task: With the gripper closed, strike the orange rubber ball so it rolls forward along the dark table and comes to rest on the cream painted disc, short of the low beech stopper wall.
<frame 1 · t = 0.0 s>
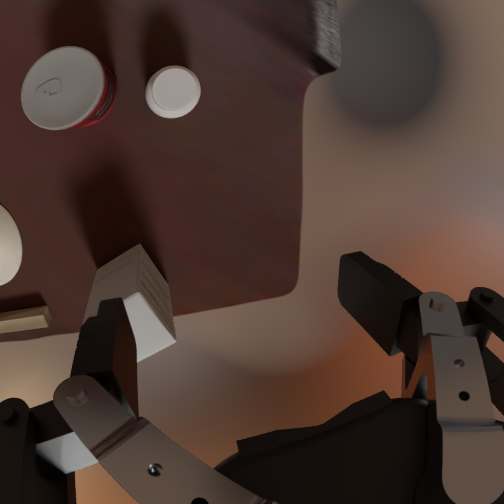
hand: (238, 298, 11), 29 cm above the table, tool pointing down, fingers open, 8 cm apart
supplement bottle: (170, 96, 33), on the table
stopper wall: (13, 316, 37), on the table
supplement box: (133, 276, 41), on the table
canned food: (86, 95, 30), on the table
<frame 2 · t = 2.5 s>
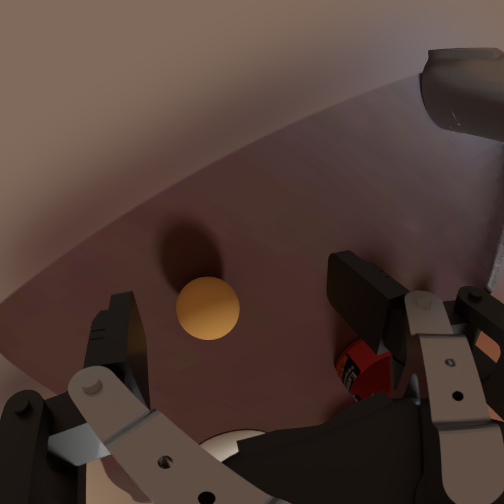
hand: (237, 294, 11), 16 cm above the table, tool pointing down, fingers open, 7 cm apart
ball: (207, 308, 27), on the table
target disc: (233, 452, 42), on the table
canned food: (358, 355, 40), on the table
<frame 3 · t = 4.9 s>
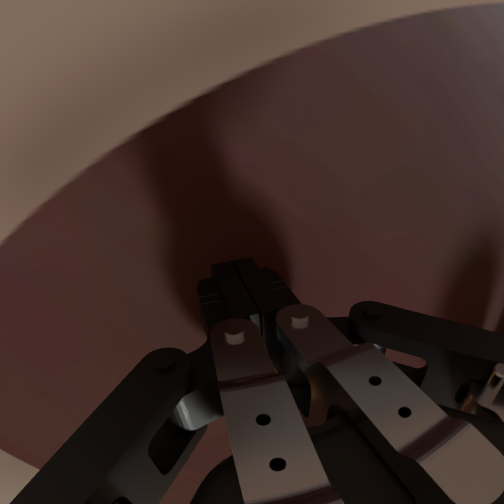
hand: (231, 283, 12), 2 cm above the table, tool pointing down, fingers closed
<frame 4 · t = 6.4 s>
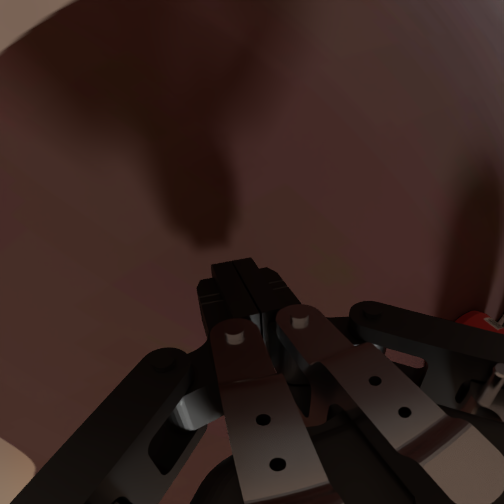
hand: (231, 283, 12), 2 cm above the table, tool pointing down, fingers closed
supplement bottle: (500, 325, 26), on the table
canned food: (452, 343, 23), on the table
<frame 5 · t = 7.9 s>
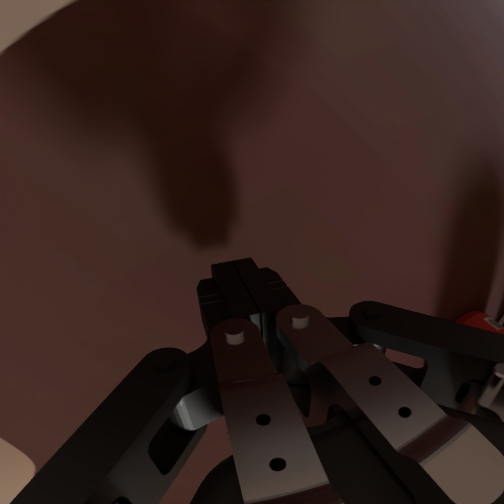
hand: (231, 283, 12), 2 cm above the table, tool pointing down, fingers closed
supplement bottle: (500, 325, 26), on the table
canned food: (452, 343, 23), on the table
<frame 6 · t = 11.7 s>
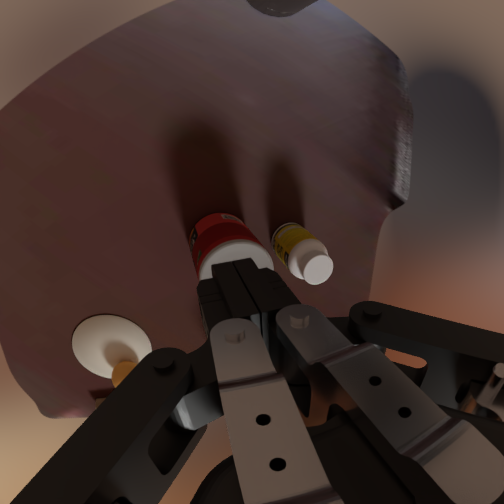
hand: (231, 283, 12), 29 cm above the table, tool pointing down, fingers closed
ball: (128, 377, 44), on the table
supplement bottle: (287, 239, 46), on the table
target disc: (111, 349, 45), on the table
canned food: (217, 237, 43), on the table
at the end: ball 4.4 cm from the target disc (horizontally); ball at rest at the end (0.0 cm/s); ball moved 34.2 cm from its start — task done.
